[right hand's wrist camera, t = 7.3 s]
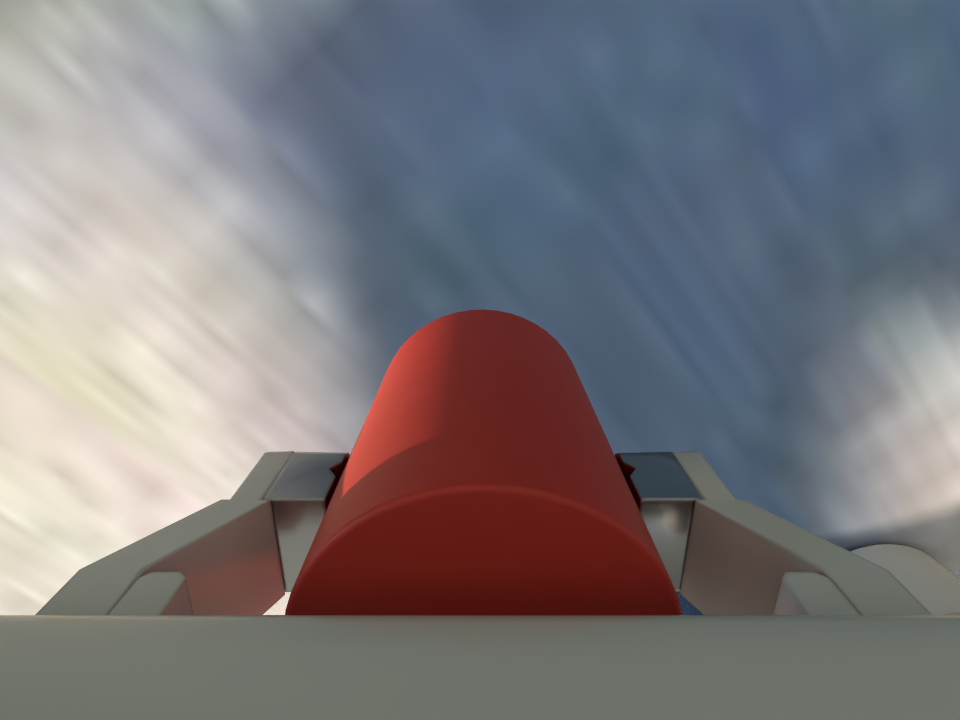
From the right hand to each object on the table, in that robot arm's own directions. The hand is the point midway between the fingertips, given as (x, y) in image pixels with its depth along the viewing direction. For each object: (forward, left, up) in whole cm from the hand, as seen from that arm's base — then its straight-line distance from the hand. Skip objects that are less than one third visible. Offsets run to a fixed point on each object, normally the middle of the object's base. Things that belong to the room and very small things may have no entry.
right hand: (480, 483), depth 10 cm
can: (0, 0, -3) cm, 3 cm away
